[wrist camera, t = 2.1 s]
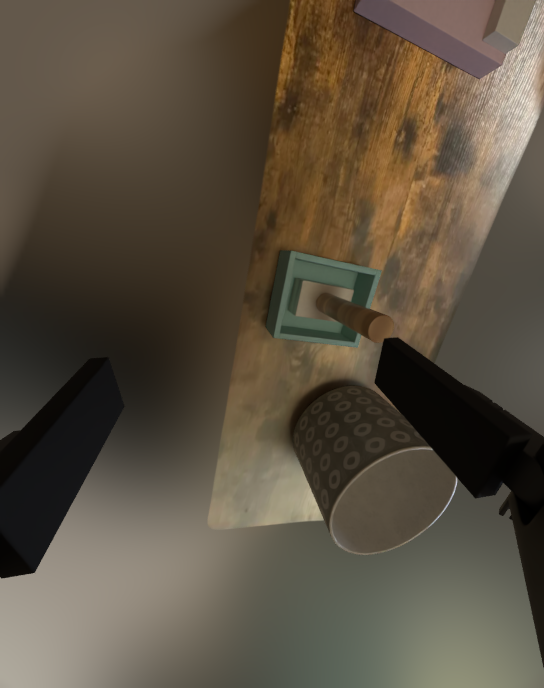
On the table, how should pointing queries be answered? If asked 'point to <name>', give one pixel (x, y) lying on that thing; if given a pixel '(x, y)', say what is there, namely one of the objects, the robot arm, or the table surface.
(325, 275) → the green open box
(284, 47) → the table surface
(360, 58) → the table surface
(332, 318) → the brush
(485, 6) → the bed
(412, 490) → the planter
